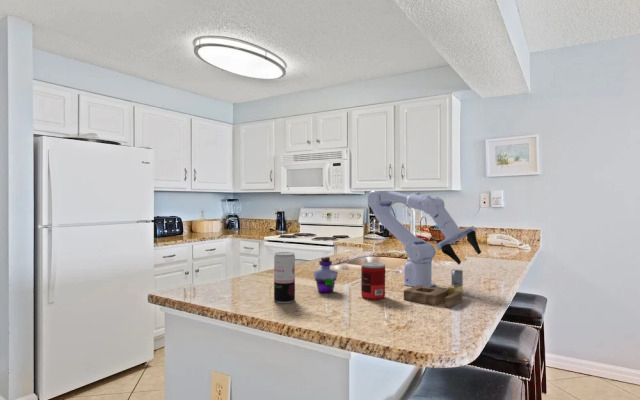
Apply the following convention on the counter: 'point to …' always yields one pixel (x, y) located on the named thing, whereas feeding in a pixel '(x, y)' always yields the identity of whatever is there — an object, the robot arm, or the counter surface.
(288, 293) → the beverage can
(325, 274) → the potion bottle
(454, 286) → the khaki rectangular plank
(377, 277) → the canned food
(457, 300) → the mount
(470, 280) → the counter surface
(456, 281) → the peg
